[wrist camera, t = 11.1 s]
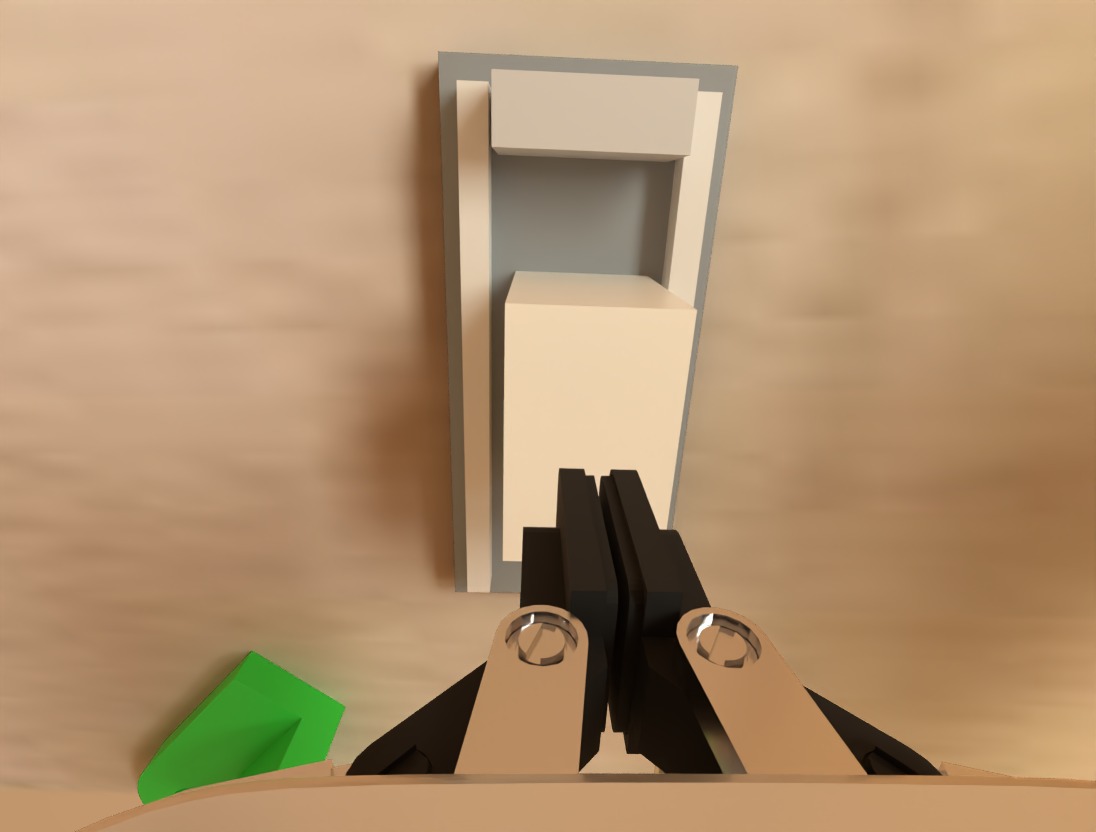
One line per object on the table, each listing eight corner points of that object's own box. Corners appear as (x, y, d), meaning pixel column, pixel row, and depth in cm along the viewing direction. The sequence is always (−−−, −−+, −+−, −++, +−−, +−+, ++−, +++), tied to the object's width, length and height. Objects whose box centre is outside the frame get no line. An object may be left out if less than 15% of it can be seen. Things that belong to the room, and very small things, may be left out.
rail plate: (726, 73, 19) (774, 41, 15) (657, 579, 27) (677, 643, 23) (444, 60, 19) (419, 23, 15) (458, 575, 27) (445, 638, 23)
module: (648, 275, 21) (698, 310, 14) (628, 464, 24) (663, 564, 17) (514, 270, 20) (502, 303, 14) (511, 460, 23) (501, 560, 17)
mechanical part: (253, 648, 29) (154, 802, 21) (346, 703, 30) (284, 866, 23) (141, 763, 32) (21, 934, 24) (231, 808, 34) (143, 981, 26)
